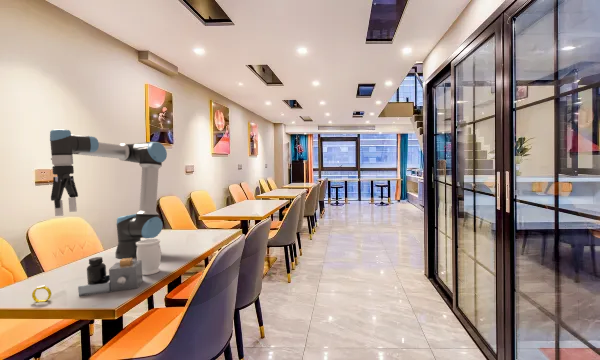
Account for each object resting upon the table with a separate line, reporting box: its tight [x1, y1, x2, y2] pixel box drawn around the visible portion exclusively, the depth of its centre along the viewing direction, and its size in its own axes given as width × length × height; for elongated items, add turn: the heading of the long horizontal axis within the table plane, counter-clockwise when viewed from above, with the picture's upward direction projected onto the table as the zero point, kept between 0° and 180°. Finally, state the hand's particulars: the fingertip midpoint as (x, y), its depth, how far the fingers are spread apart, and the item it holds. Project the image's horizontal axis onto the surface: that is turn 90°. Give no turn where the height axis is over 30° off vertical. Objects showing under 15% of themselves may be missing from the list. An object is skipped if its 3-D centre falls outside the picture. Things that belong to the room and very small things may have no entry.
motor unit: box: [77, 257, 144, 297], centre depth 138 cm, size 14×21×11 cm, turn 104°
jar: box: [136, 238, 162, 276], centre depth 157 cm, size 11×10×15 cm
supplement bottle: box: [86, 256, 108, 285], centre depth 138 cm, size 7×7×12 cm
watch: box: [31, 284, 52, 303], centre depth 127 cm, size 6×3×6 cm, turn 98°
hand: (66, 213), depth 147 cm, fingers open, 13 cm apart
